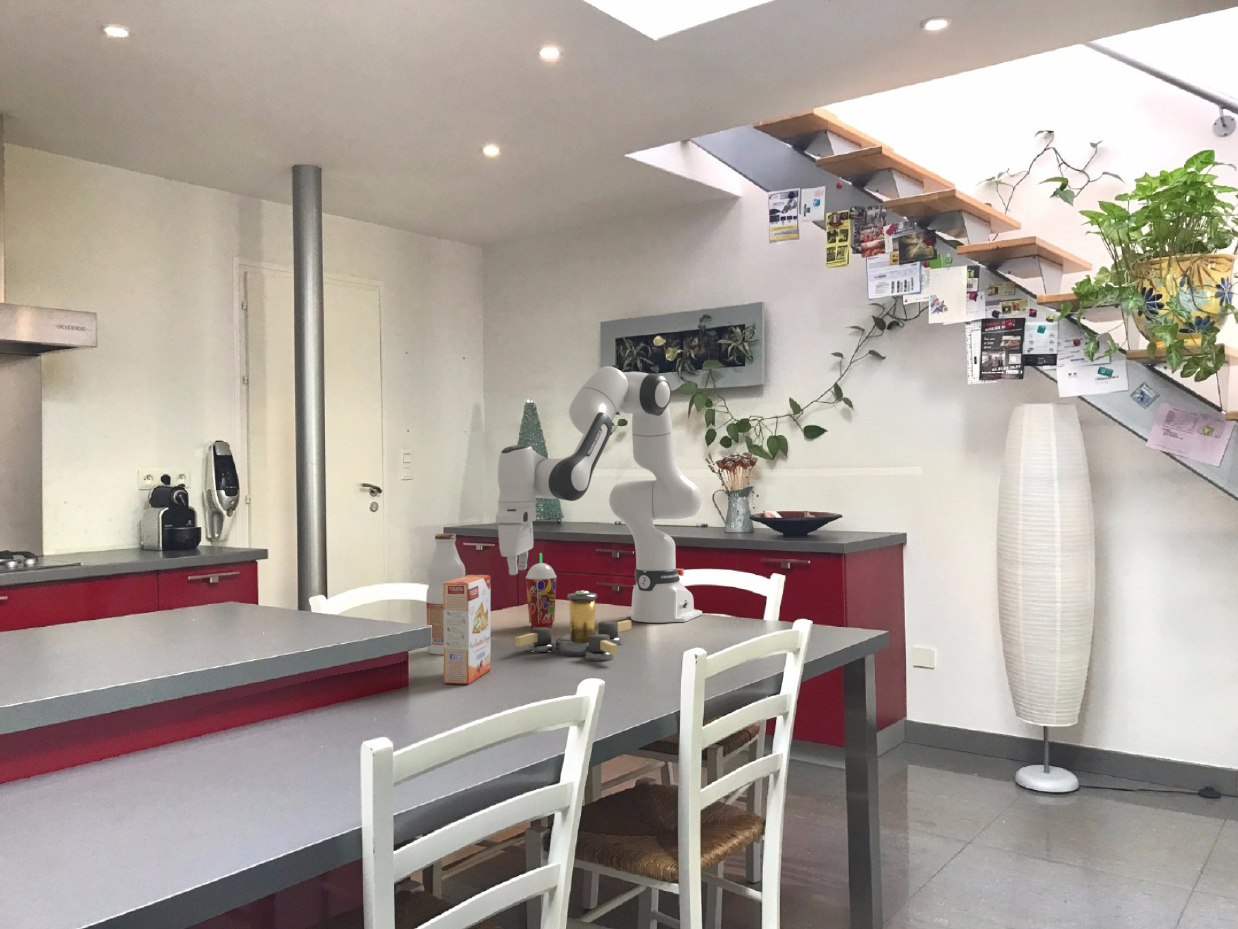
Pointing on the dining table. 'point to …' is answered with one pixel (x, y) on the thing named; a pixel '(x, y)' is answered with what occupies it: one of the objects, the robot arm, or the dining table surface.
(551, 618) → the smoothie
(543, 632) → the knob
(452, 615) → the cracker box
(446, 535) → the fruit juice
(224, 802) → the dining table surface
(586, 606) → the tribrach
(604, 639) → the knob
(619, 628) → the lever knob
